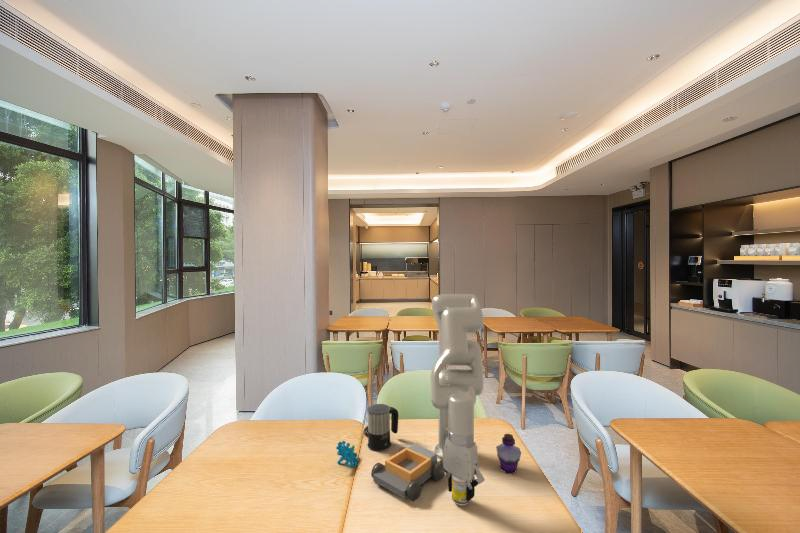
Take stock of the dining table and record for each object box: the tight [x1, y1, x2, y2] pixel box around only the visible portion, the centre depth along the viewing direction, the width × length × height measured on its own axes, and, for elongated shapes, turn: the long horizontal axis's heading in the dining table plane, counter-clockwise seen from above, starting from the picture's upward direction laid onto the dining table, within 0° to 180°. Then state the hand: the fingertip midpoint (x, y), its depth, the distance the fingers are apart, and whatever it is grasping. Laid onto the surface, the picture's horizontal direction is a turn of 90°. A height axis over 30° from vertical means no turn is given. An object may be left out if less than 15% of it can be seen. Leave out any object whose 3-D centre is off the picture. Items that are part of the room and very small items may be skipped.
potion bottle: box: [496, 433, 522, 474], centre depth 127 cm, size 9×9×12 cm
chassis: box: [371, 443, 445, 502], centre depth 122 cm, size 20×17×6 cm
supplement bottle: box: [451, 474, 471, 506], centre depth 110 cm, size 6×6×10 cm
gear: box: [335, 440, 359, 469], centre depth 132 cm, size 11×6×10 cm
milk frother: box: [363, 403, 399, 452], centre depth 148 cm, size 14×16×15 cm
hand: (461, 493), depth 110 cm, fingers closed on supplement bottle, 5 cm apart
